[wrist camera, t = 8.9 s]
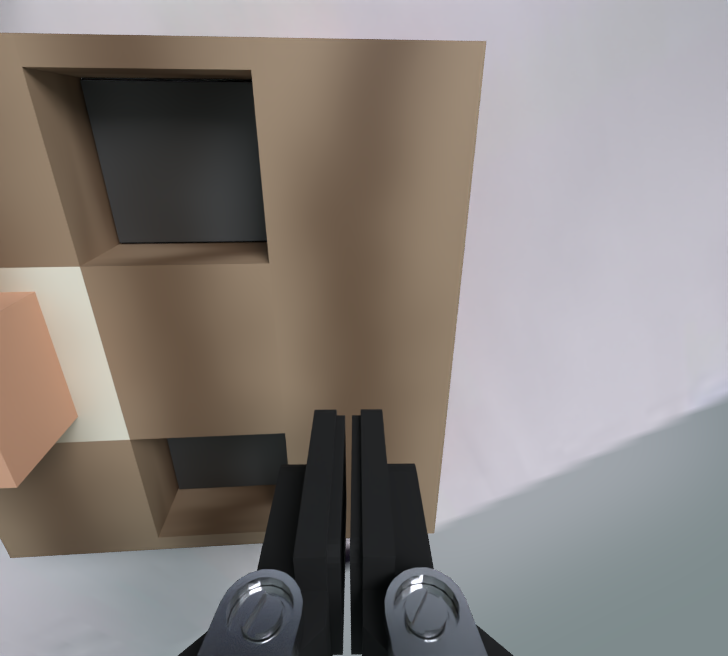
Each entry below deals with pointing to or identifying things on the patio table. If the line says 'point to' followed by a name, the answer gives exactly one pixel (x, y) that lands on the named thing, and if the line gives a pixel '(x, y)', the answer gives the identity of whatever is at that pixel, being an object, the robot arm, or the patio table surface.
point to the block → (28, 388)
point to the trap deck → (229, 267)
